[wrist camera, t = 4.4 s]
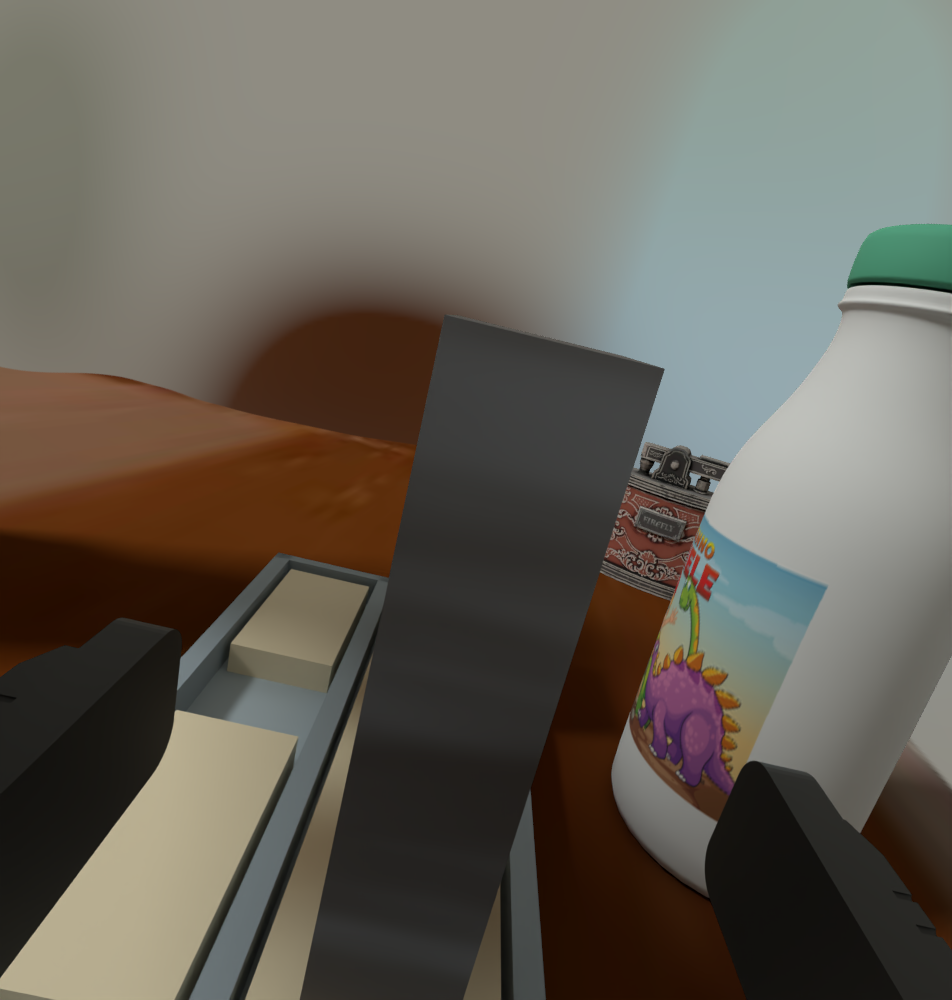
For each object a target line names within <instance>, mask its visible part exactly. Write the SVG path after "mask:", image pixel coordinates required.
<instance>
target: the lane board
mask: <svg viewBox="0 0 952 1000" xmlns="http://www.w3.org/2000/svg"><path fill="white" fill-rule="evenodd" d="M388 580H389V578H386V577H382V576H377V575H373V574H369V573H364V572H360V571H356V570H351V569H347V568H343V567H338V566H334V565H330V564H325V563H321V562H316V561H312V560H308V559H303V558H299V557H295V556H290V555H286V554H282V553H278V554H277V555H276V556H275V557H274V558H273V559H272V560H271V561H270V562H269V563H268V565H267V566H266V567H265V568H264V569H263V570H262V571H261V572H260V573H259V574H258V575H257V576H256V578H255V579H254V580H253V581H252V582H251V583H250V584H249V585H248V586H247V587H246V588H245V589H244V590H243V592H242V593H241V594H240V595H239V596H238V597H237V598H236V599H235V600H234V601H233V602H232V603H231V605H230V606H229V607H228V608H227V609H226V610H225V611H224V612H223V613H222V614H221V615H220V616H219V617H218V619H217V620H216V621H215V622H214V623H213V624H212V625H211V626H210V627H209V628H208V629H207V630H206V631H205V633H204V634H203V635H202V636H201V637H200V638H199V639H198V640H197V641H196V642H195V643H194V644H193V646H192V647H191V648H190V649H189V650H188V651H187V652H186V653H185V654H184V655H183V656H182V657H181V659H180V668H179V677H178V687H177V696H176V705H175V715H174V723H173V729H172V733H171V737H170V740H169V743H168V746H167V748H166V751H165V753H164V755H163V757H162V760H161V761H160V763H159V765H158V767H157V769H156V770H155V772H154V773H153V775H152V776H151V777H150V779H149V780H148V781H147V783H146V784H145V785H144V787H143V788H142V789H141V791H140V792H139V793H138V795H137V796H136V797H135V799H134V800H133V801H132V803H131V804H130V805H129V807H128V808H127V809H126V811H125V812H124V813H123V815H122V816H121V817H120V819H119V820H118V821H117V823H116V824H115V825H114V827H113V828H112V829H111V831H110V832H109V834H108V835H107V836H106V838H105V839H104V840H103V842H102V843H101V844H100V846H99V847H98V848H97V850H96V851H95V852H94V854H93V855H92V856H91V858H90V859H89V860H88V862H87V863H86V864H85V866H84V867H83V868H82V870H81V871H80V872H79V874H78V875H77V876H76V878H75V879H74V880H73V882H72V883H71V884H70V886H69V887H68V888H67V890H66V891H65V892H64V894H63V895H62V896H61V898H60V899H59V900H58V902H57V903H56V904H55V906H54V907H53V908H52V910H51V911H50V912H49V914H48V915H47V916H46V918H45V919H44V920H43V922H42V923H41V924H40V926H39V927H38V928H37V930H36V931H35V932H34V934H33V935H32V936H31V938H30V939H29V940H28V942H27V943H26V944H25V946H24V947H23V948H22V950H21V951H20V952H19V954H18V955H17V957H16V958H15V959H14V961H13V962H12V963H11V965H10V966H9V967H8V969H7V970H6V971H5V973H4V974H3V975H2V977H1V978H0V1000H245V999H246V996H247V993H248V990H249V988H250V985H251V982H252V980H253V977H254V974H255V971H256V969H257V966H258V963H259V961H260V958H261V955H262V952H263V950H264V947H265V944H266V942H267V939H268V936H269V933H270V931H271V928H272V925H273V923H274V920H275V917H276V914H277V912H278V909H279V906H280V904H281V901H282V898H283V895H284V893H285V890H286V887H287V885H288V882H289V879H290V876H291V874H292V871H293V868H294V866H295V863H296V860H297V857H298V855H299V852H300V849H301V847H302V844H303V841H304V838H305V836H306V833H307V830H308V828H309V825H310V822H311V819H312V817H313V814H314V811H315V808H316V806H317V803H318V800H319V798H320V795H321V792H322V789H323V787H324V784H325V781H326V779H327V776H328V773H329V770H330V768H331V765H332V762H333V760H334V757H335V754H336V751H337V749H338V746H339V743H340V741H341V738H342V735H343V732H344V730H345V727H346V724H347V722H348V719H349V716H350V713H351V711H352V708H353V705H354V703H355V700H356V697H357V694H358V692H359V689H360V686H361V684H362V681H363V678H364V675H365V673H366V670H367V667H368V665H369V662H370V659H371V656H372V654H373V651H374V646H375V641H376V637H377V632H378V627H379V622H380V618H381V613H382V608H383V604H384V599H385V594H386V589H387V585H388ZM500 916H501V1000H546V997H545V983H544V970H543V956H542V942H541V928H540V914H539V901H538V887H537V873H536V859H535V846H534V832H533V818H532V804H531V790H530V792H529V795H528V798H527V801H526V804H525V807H524V810H523V814H522V817H521V820H520V823H519V826H518V829H517V832H516V836H515V839H514V842H513V845H512V848H511V851H510V854H509V857H508V861H507V864H506V867H505V870H504V873H503V876H502V879H501V882H500Z"/></svg>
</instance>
